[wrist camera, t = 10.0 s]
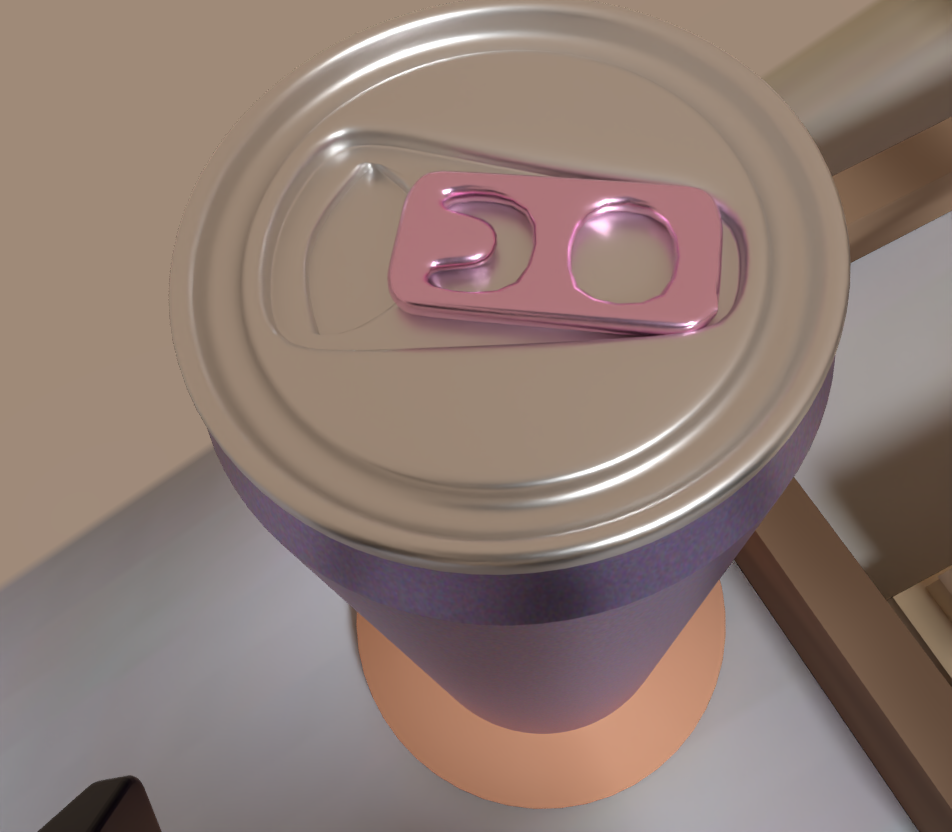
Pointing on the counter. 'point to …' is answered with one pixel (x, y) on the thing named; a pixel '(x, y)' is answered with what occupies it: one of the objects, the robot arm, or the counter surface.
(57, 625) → the counter surface
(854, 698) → the walnut rack
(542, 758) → the peach round disc
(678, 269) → the beverage can
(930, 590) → the offcut stack
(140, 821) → the robot arm
